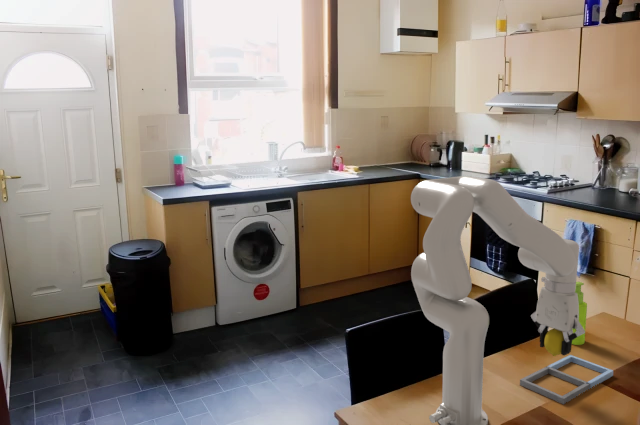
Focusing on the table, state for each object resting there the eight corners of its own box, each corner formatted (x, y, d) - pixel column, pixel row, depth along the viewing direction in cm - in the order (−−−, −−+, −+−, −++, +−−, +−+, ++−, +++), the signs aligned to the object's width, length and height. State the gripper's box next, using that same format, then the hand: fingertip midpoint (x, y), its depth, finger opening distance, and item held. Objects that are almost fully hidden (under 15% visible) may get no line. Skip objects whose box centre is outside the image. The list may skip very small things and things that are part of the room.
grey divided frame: (563, 404, 144) (563, 398, 144) (519, 384, 154) (520, 379, 154) (612, 375, 158) (613, 370, 158) (569, 359, 169) (570, 354, 168)
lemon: (567, 361, 148) (569, 332, 146) (545, 359, 149) (547, 331, 147) (562, 352, 153) (565, 325, 152) (541, 351, 154) (543, 323, 153)
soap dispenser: (558, 340, 182) (561, 281, 179) (573, 336, 185) (577, 278, 181) (573, 346, 177) (577, 287, 173) (588, 342, 180) (592, 283, 176)
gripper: (523, 280, 152) (518, 342, 155) (583, 297, 138) (577, 365, 141) (539, 275, 156) (534, 336, 159) (599, 291, 143) (592, 357, 146)
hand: (554, 349), depth 150 cm, fingers closed on lemon, 5 cm apart
